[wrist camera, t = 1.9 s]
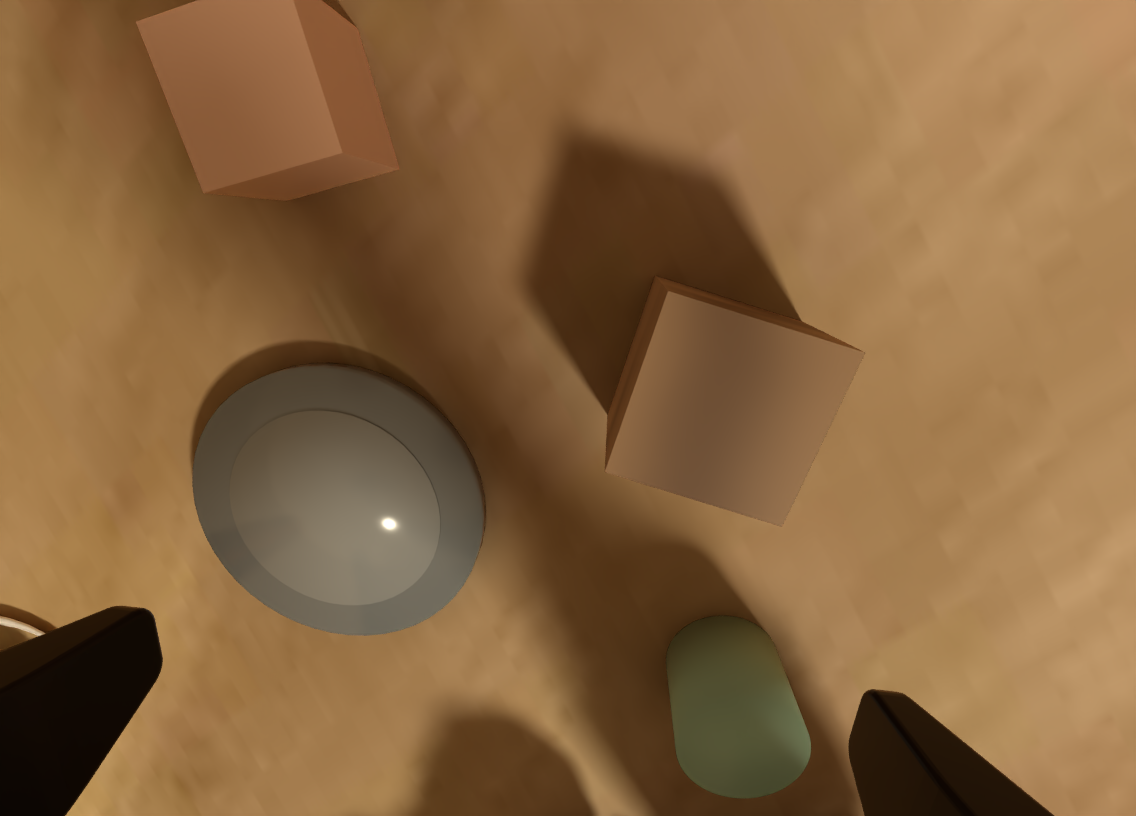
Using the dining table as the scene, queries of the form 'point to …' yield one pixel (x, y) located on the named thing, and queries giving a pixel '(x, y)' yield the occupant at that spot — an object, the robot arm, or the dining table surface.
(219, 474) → the saucer
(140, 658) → the robot arm
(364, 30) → the dining table surface
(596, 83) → the dining table surface
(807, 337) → the walnut block
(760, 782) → the green tin
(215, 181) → the terracotta block
